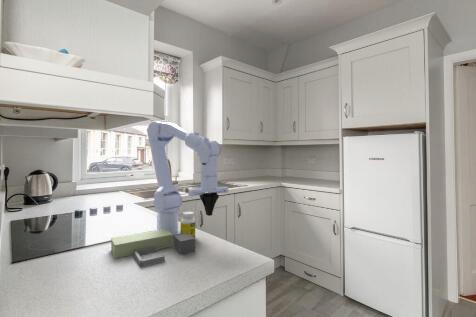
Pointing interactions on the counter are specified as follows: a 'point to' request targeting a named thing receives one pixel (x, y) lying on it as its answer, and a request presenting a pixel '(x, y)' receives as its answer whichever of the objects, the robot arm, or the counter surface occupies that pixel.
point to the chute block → (184, 243)
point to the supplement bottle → (188, 224)
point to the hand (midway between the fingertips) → (209, 214)
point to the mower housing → (142, 245)
